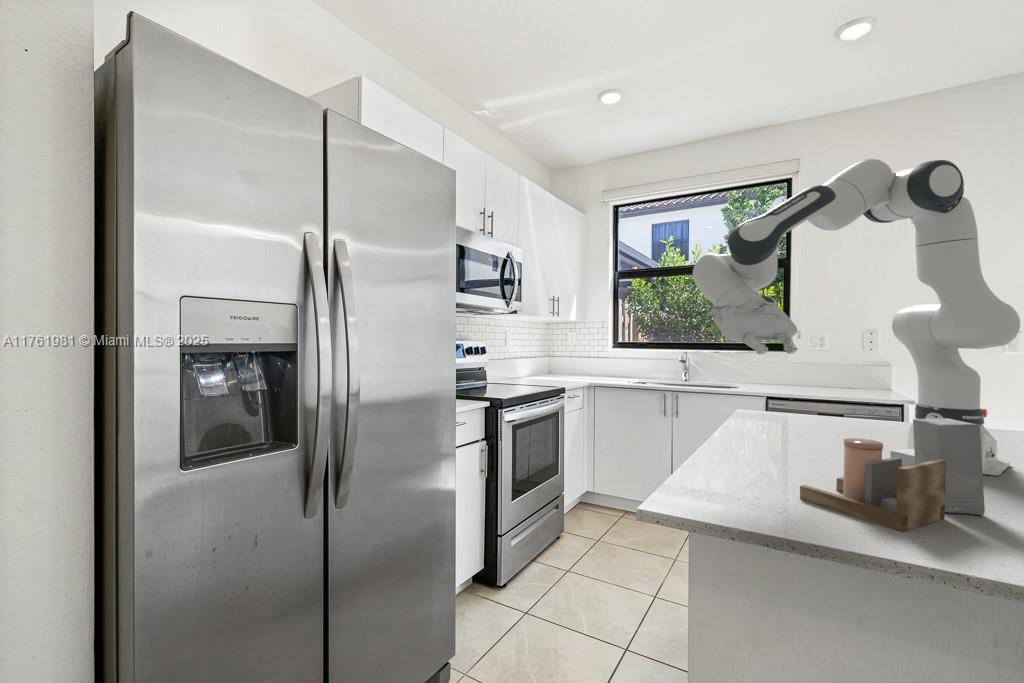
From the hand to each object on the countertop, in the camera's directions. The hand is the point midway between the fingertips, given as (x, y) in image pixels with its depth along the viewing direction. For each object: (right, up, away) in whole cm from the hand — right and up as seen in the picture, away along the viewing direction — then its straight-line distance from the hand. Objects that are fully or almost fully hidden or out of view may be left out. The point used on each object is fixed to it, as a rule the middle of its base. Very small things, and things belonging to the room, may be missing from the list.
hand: (779, 352), depth 104 cm
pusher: (+9, -28, -19) cm, 35 cm away
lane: (+8, -28, -15) cm, 33 cm away
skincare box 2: (+23, -28, -14) cm, 39 cm away
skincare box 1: (+25, -28, -4) cm, 38 cm away
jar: (+7, -28, -14) cm, 32 cm away
